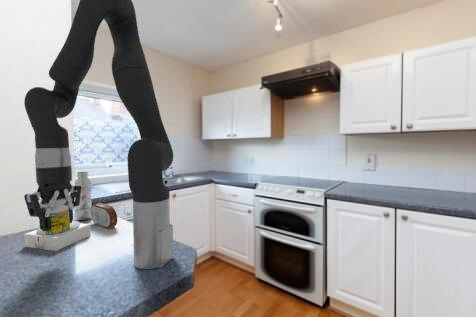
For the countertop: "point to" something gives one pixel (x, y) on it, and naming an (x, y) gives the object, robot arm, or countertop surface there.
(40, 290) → the countertop surface
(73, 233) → the kitchen scale
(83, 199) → the plastic bottle
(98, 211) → the tin
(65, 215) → the supplement bottle
